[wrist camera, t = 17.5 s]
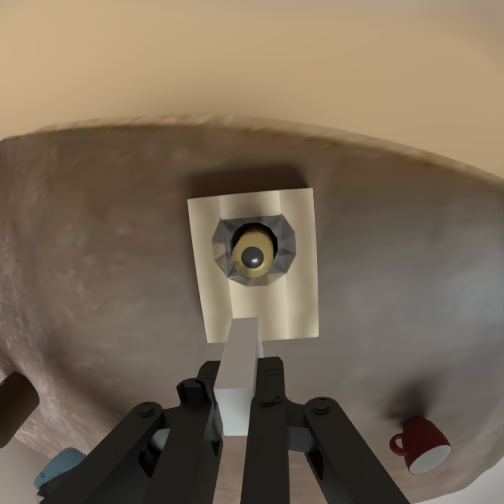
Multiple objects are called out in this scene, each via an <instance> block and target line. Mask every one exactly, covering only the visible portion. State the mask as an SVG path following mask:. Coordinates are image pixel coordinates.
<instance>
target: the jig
mask: <svg viewBox="0 0 504 504" xmlns="http://www.w3.org/2000/svg"><path fill="white" fill-rule="evenodd" d="M187 201H188V210H189V218H190V227H191V235H192V243H193V250H194V258H195V265H196V272H197V279H198V286H199V292H200V299H201V305H202V311H203V318H204V324H205V329H206V335H207V341H208V343H219V342H226V341H227V338H228V334H229V330H230V327H231V323H232V319H234V318H248V317H259V322H260V331H261V340H262V341H267V340H282V339H295V338H307V337H318V280H317V253H316V233H315V216H314V202H313V188H299V189H285V190H272V191H260V192H249V193H238V194H228V195H219V196H209V197H201V198H193V199H188V200H187ZM254 222H259V223H261V224H263V225H265V226H267V227H270V228H271V230H272V231H273V233H274V234H275V236H276V237H277V241H278V246H277V248H276V250H275V252H274V254H273V263H272V266H271V268H270V269H269V270H268V271H267V272H266V273H265V274H264V275H262V276H259V277H247V276H244V275H242V274H240V273H239V272H238V271H237V270H236V268H235V267H234V265H233V262H232V252H233V249H234V245H233V236H234V234H235V231H236V229H238V228H239V227H241V226H242V225H243V224H245V223H254Z"/></svg>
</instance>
